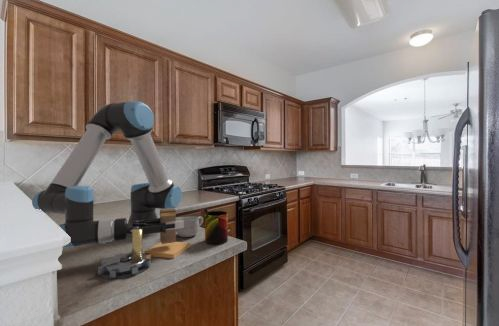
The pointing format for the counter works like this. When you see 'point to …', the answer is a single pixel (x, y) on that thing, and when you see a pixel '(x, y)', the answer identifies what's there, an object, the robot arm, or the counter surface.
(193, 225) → the teacup
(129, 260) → the sprocket
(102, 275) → the sprocket plinth
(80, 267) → the counter surface
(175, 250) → the light orange square slab
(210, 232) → the mug
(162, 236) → the link block
